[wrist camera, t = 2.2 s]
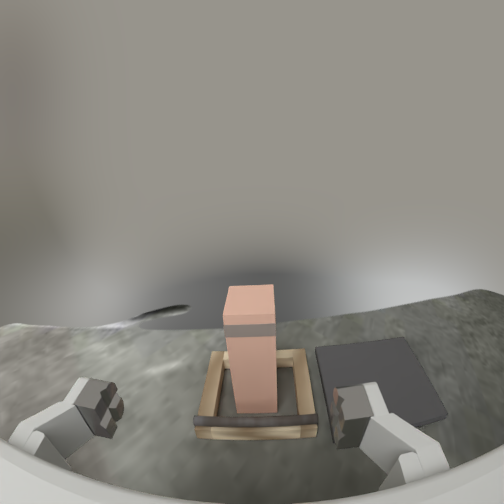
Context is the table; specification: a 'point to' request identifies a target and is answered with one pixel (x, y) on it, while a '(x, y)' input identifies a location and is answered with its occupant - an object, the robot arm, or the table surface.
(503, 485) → the robot arm
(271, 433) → the frame
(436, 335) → the table surface
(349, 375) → the mat
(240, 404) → the block
